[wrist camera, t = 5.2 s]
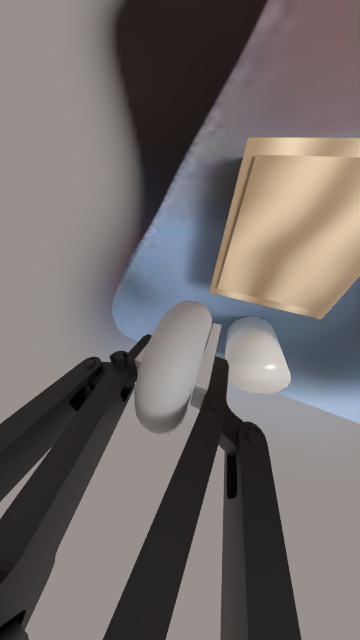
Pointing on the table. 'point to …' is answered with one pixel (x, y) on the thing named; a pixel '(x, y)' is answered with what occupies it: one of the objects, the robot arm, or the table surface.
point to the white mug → (255, 357)
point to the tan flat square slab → (293, 225)
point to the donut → (171, 367)
